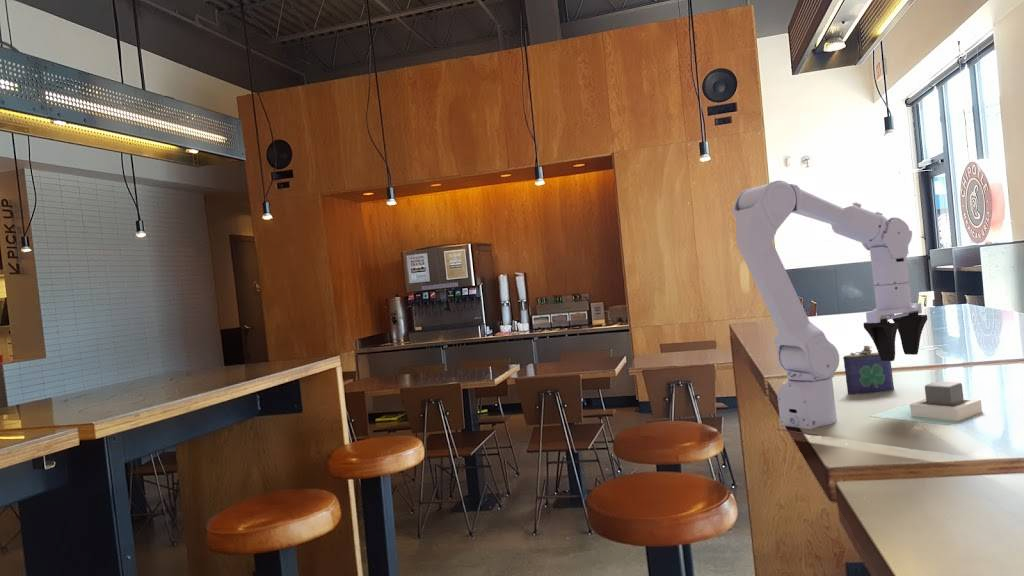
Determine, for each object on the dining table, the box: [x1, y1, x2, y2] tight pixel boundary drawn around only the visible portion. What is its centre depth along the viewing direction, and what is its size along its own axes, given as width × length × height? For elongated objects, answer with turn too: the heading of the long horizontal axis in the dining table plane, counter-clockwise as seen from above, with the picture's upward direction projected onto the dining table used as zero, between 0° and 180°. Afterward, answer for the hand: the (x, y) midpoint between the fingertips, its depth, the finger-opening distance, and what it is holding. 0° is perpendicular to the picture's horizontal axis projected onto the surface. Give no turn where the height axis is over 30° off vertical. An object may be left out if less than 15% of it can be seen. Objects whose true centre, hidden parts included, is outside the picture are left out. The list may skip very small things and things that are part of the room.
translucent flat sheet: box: [869, 404, 983, 426], centre depth 118 cm, size 11×13×1 cm
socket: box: [909, 398, 983, 422], centre depth 117 cm, size 8×8×2 cm
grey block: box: [924, 380, 965, 407], centre depth 117 cm, size 4×4×5 cm
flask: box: [843, 345, 895, 395], centre depth 142 cm, size 9×3×11 cm, turn 87°
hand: (899, 357), depth 127 cm, fingers open, 7 cm apart
